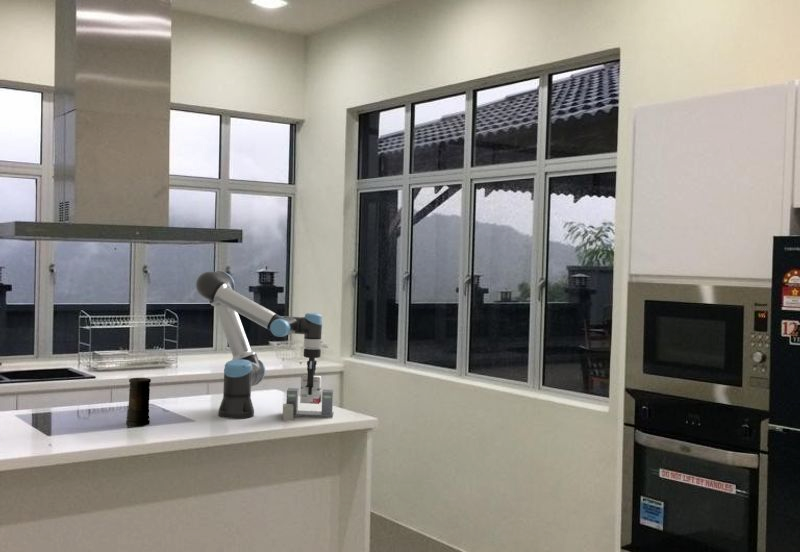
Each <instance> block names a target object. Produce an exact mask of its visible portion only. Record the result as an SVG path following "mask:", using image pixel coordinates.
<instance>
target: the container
mask: <svg viewBox="0 0 800 552" xmlns="http://www.w3.org/2000/svg"><path fill="white" fill-rule="evenodd" d="M128 382H129V389H128V391H129V392H128V393H129V394H128V409H127V417H126V419H127V420H126V422H125V424H126V425H127V426H132V427H143V426H144V427H145V426H148V425H150V423H151V422H150V395H151V394H150V393H151V389H150V387H151V383H152V379H151V378H148V377H133V378H128Z"/></svg>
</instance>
